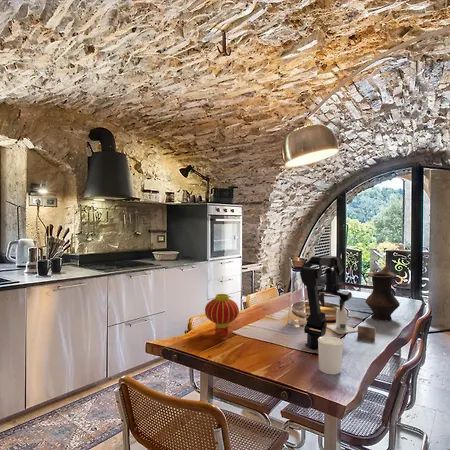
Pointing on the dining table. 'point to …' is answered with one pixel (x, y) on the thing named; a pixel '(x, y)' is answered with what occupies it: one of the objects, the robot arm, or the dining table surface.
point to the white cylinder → (330, 354)
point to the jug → (382, 295)
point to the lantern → (221, 312)
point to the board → (348, 330)
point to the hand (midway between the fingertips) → (332, 308)
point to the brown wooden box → (366, 333)
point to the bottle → (341, 318)
